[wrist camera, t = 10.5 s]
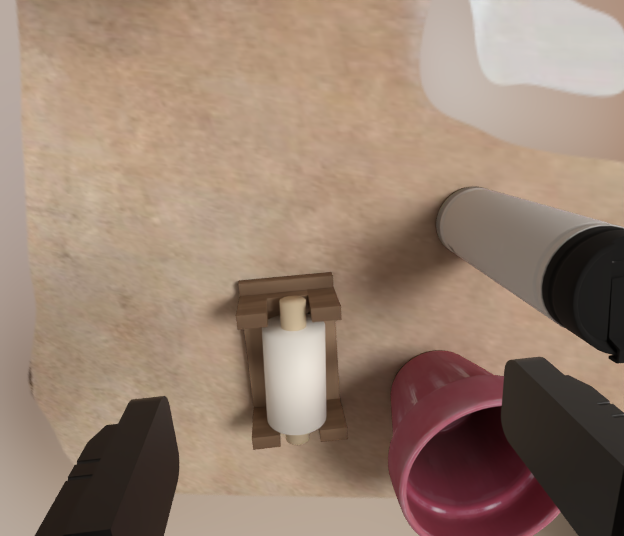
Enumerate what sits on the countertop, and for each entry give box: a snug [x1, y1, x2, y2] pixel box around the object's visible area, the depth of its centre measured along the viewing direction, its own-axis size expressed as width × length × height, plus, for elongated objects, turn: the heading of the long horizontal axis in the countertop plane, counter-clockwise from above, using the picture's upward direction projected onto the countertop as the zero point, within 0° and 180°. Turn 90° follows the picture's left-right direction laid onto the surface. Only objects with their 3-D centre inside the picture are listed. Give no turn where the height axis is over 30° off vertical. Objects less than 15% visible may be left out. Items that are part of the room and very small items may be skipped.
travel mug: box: [436, 187, 624, 363], centre depth 31 cm, size 6×7×20 cm
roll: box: [262, 296, 326, 445], centre depth 40 cm, size 14×5×5 cm
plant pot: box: [388, 351, 560, 536], centre depth 40 cm, size 14×14×13 cm
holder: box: [236, 272, 348, 450], centre depth 41 cm, size 15×8×6 cm, turn 4°
